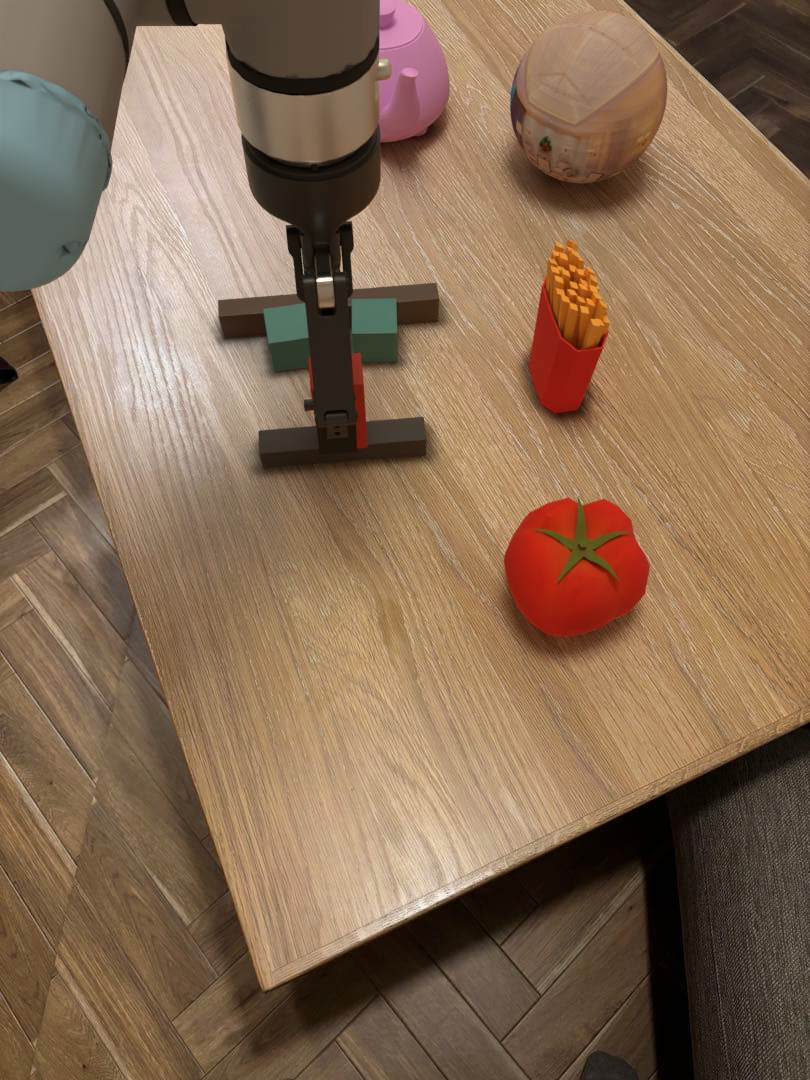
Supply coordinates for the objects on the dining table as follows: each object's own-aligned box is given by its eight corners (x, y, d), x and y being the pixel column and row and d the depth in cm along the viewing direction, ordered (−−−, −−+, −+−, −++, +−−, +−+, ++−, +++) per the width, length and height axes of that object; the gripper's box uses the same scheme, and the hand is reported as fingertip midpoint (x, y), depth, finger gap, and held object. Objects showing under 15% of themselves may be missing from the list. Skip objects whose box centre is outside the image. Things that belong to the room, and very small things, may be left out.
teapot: (475, 171, 91) (485, 61, 80) (344, 196, 89) (336, 87, 78) (421, 54, 99) (424, -60, 88) (301, 75, 97) (289, -39, 87)
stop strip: (438, 321, 81) (439, 298, 79) (224, 338, 80) (218, 316, 77) (435, 305, 82) (436, 282, 79) (223, 322, 81) (217, 299, 78)
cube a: (317, 366, 79) (314, 336, 75) (274, 372, 78) (268, 343, 75) (311, 332, 81) (307, 302, 77) (268, 338, 80) (262, 308, 77)
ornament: (614, 107, 95) (649, -35, 82) (666, 201, 89) (714, 63, 75) (484, 130, 93) (498, -12, 80) (528, 227, 87) (552, 90, 74)
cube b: (397, 362, 79) (397, 332, 75) (353, 363, 79) (351, 333, 75) (396, 328, 81) (396, 298, 77) (353, 328, 81) (351, 298, 77)
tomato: (480, 624, 67) (490, 577, 60) (528, 511, 72) (544, 455, 64) (609, 677, 65) (638, 636, 58) (650, 558, 70) (682, 505, 62)
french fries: (592, 416, 76) (626, 316, 65) (545, 424, 76) (571, 324, 64) (563, 337, 80) (591, 228, 69) (519, 343, 80) (539, 235, 69)
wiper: (426, 458, 74) (430, 378, 64) (263, 472, 74) (242, 394, 64) (422, 429, 76) (425, 347, 66) (262, 443, 75) (241, 361, 65)
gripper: (406, 296, 41) (398, 513, 60) (359, -18, 52) (365, 248, 71) (246, 307, 40) (289, 522, 59) (234, -13, 51) (274, 254, 70)
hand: (331, 373), depth 65 cm, fingers open, 13 cm apart
